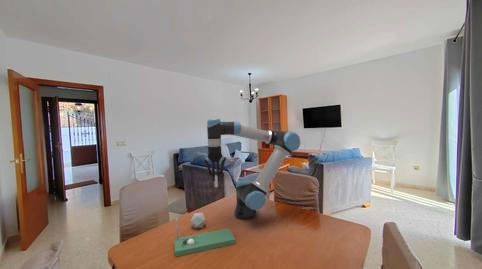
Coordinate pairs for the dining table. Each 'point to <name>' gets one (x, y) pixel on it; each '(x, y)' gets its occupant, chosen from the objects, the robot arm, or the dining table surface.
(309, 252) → the dining table surface
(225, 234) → the mini golf green
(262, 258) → the dining table surface
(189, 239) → the ball
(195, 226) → the die
